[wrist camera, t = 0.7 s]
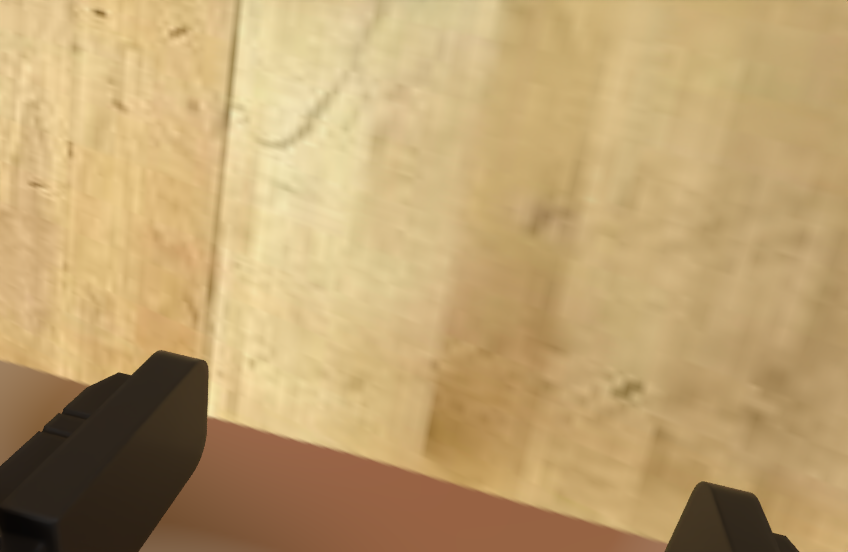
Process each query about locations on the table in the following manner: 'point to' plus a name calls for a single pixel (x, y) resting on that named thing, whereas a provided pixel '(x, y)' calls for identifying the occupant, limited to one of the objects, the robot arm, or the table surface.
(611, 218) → the table surface
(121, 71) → the table surface
